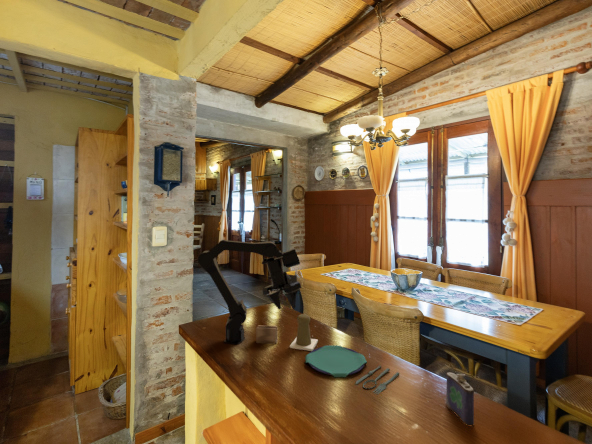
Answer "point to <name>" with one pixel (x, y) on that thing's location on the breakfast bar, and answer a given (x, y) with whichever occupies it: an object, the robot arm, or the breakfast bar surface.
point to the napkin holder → (266, 334)
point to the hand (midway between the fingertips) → (286, 308)
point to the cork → (303, 330)
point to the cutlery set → (343, 364)
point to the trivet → (309, 347)
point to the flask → (460, 397)
